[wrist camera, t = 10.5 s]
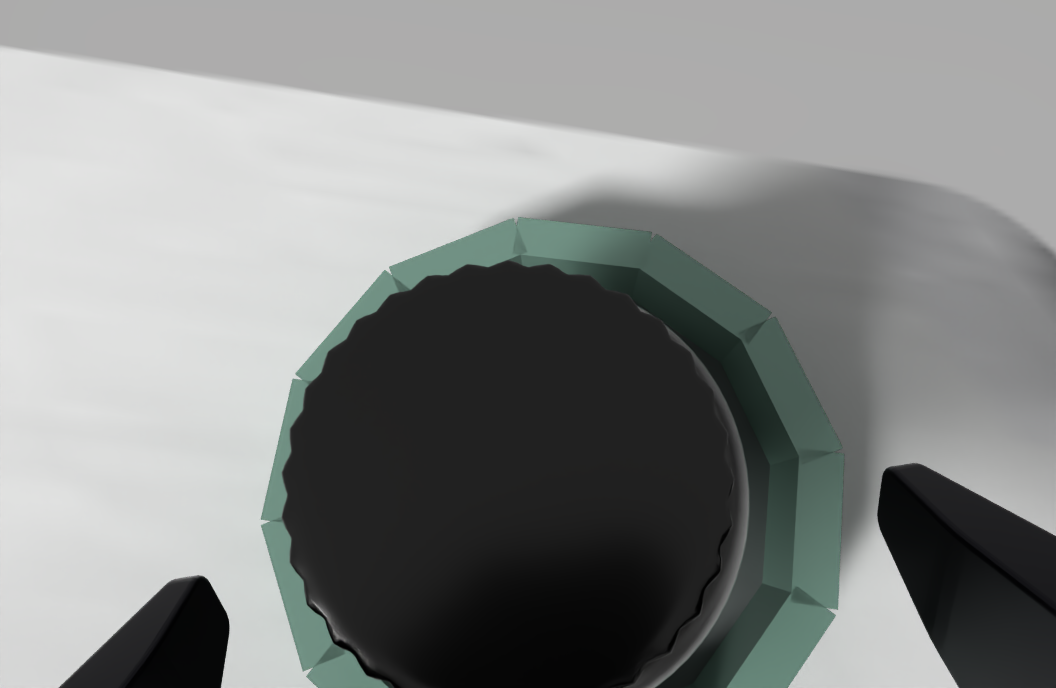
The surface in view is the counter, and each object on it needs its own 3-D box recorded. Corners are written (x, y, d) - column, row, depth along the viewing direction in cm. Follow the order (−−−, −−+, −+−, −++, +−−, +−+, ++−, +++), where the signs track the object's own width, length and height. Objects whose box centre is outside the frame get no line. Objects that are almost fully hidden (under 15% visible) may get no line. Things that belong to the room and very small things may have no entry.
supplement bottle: (367, 487, 19) (54, 433, 8) (555, 324, 20) (529, 52, 8) (534, 698, 18) (459, 1029, 6) (731, 512, 19) (994, 495, 7)
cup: (784, 806, 17) (827, 863, 14) (265, 712, 19) (208, 747, 16) (812, 292, 20) (852, 254, 17) (366, 240, 22) (333, 196, 19)
